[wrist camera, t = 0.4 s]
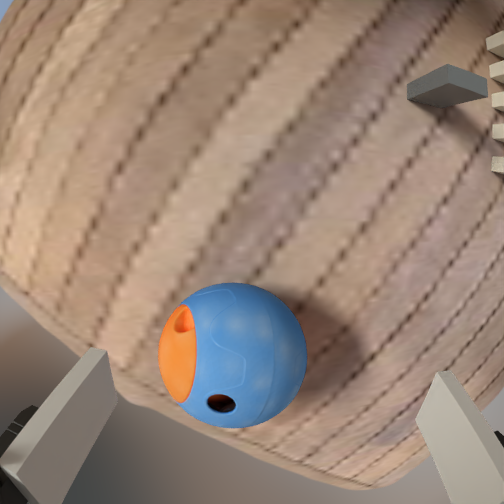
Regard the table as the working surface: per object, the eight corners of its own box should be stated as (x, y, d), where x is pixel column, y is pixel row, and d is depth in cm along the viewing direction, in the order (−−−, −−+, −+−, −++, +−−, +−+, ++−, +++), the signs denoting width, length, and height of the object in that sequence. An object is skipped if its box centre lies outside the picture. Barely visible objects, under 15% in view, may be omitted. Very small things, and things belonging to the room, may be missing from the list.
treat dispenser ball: (273, 383, 42) (273, 468, 27) (168, 348, 41) (129, 425, 27) (320, 288, 38) (346, 362, 23) (198, 245, 37) (154, 298, 22)
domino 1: (407, 84, 30) (447, 63, 21) (441, 93, 30) (486, 78, 20) (407, 99, 31) (448, 82, 21) (441, 108, 31) (488, 97, 21)
